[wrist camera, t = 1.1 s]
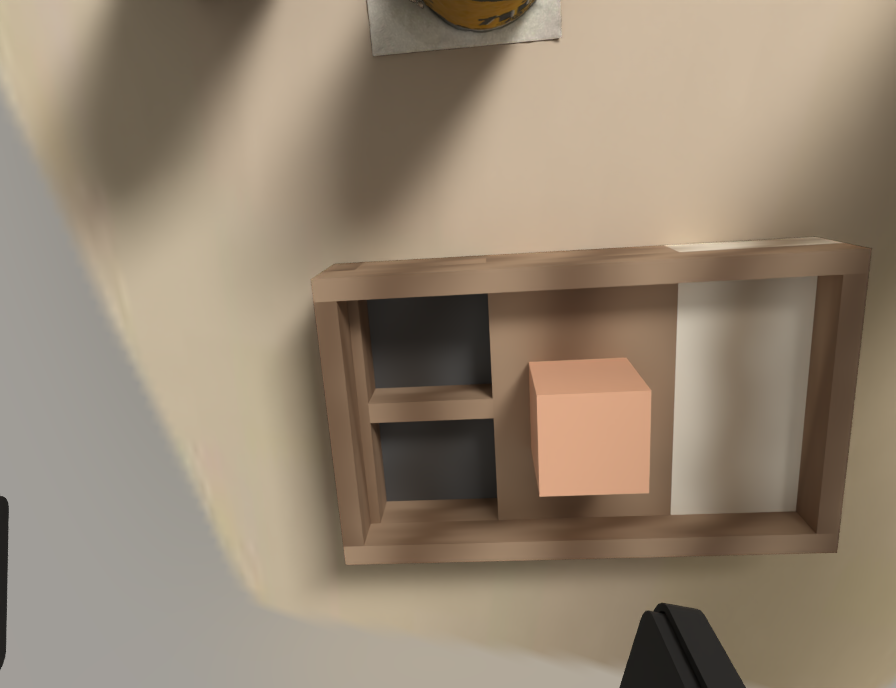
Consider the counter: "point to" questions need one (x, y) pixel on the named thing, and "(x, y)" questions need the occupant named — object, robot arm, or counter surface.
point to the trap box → (593, 337)
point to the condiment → (459, 23)
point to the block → (589, 427)
